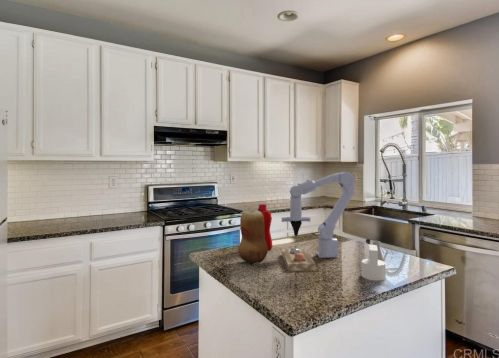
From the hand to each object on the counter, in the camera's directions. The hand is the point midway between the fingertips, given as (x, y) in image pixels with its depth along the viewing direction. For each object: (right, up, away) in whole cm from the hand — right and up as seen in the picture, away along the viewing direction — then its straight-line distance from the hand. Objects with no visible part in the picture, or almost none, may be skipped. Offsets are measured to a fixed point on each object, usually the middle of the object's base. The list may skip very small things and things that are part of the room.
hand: (295, 235), depth 155 cm
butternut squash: (-22, -11, -12) cm, 27 cm away
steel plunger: (-1, -10, -5) cm, 11 cm away
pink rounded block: (-1, -10, -17) cm, 20 cm away
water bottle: (-17, -10, +13) cm, 24 cm away
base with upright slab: (+27, -11, -31) cm, 43 cm away
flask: (+36, -11, -13) cm, 40 cm away
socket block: (-1, -11, -11) cm, 15 cm away
